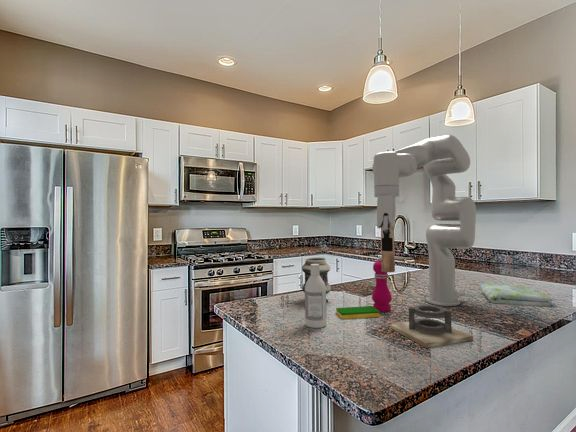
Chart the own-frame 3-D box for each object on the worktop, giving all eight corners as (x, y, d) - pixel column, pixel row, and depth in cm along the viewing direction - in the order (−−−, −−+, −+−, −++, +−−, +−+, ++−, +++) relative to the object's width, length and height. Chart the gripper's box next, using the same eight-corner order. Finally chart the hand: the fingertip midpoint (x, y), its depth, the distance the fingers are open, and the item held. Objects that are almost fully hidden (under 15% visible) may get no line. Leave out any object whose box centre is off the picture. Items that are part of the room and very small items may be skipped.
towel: (554, 308, 122) (554, 294, 122) (489, 304, 129) (489, 291, 129) (535, 296, 139) (535, 284, 139) (479, 293, 146) (478, 282, 146)
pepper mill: (392, 312, 119) (391, 257, 119) (372, 311, 121) (371, 257, 121) (390, 306, 126) (389, 255, 126) (371, 306, 128) (370, 255, 128)
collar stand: (432, 322, 107) (432, 299, 107) (473, 340, 92) (472, 313, 92) (390, 328, 103) (390, 304, 103) (425, 347, 87) (425, 319, 87)
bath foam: (313, 320, 112) (312, 262, 112) (330, 324, 108) (329, 263, 108) (301, 325, 107) (300, 264, 107) (318, 330, 102) (317, 266, 102)
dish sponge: (336, 314, 120) (335, 307, 120) (372, 312, 121) (372, 305, 121) (341, 320, 113) (341, 313, 113) (379, 318, 114) (379, 311, 114)
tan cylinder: (390, 269, 105) (389, 220, 105) (397, 271, 101) (396, 220, 101) (379, 270, 104) (377, 220, 104) (386, 272, 100) (384, 220, 100)
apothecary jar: (298, 304, 133) (297, 260, 133) (307, 297, 144) (306, 256, 144) (326, 306, 128) (326, 261, 128) (334, 299, 140) (333, 257, 139)
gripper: (377, 193, 112) (378, 247, 112) (370, 191, 96) (372, 253, 96) (400, 192, 109) (401, 247, 109) (397, 190, 93) (399, 253, 93)
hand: (387, 249), depth 102 cm, fingers closed on tan cylinder, 4 cm apart
